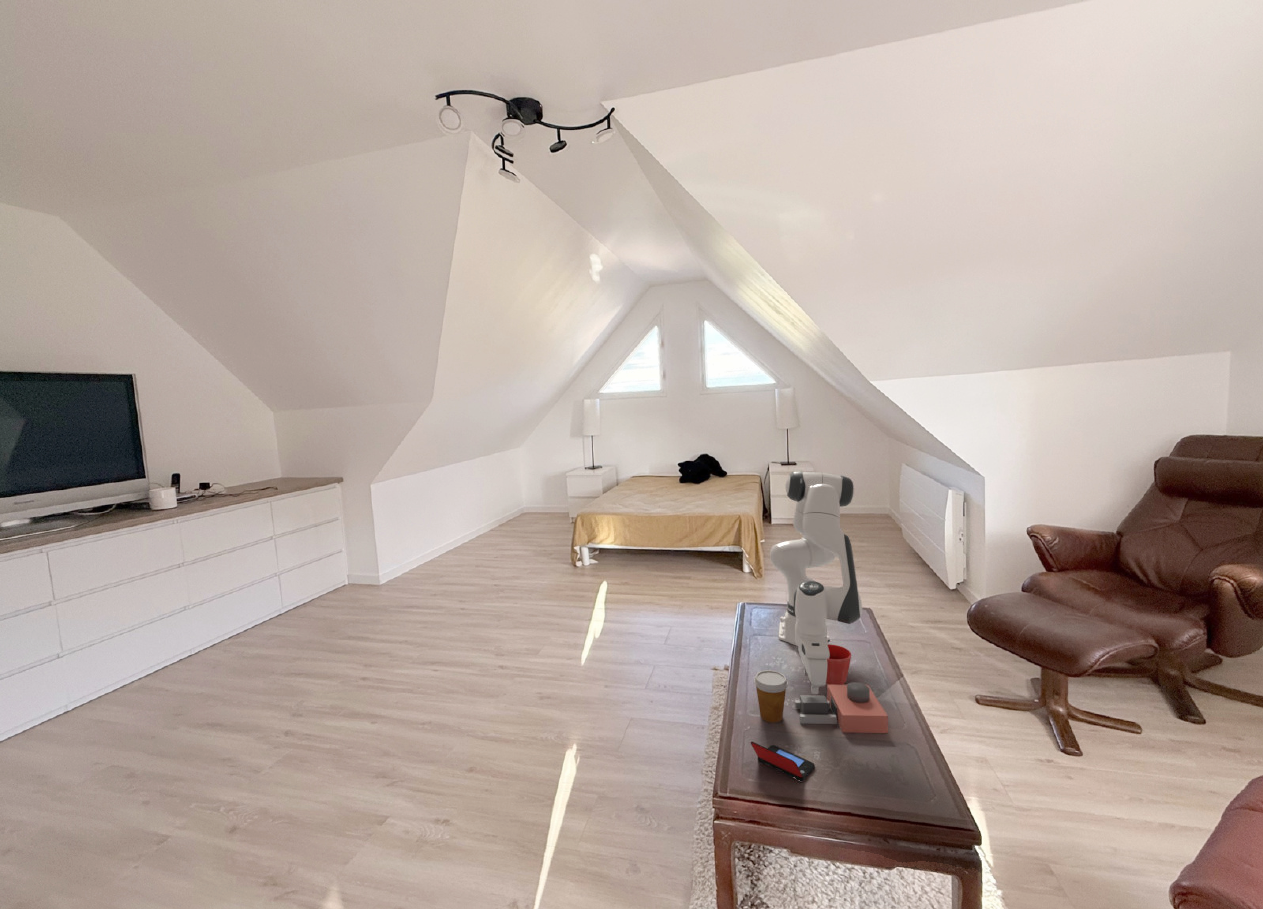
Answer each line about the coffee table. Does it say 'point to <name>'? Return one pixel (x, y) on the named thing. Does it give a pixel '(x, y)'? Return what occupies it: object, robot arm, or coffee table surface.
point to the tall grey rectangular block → (813, 704)
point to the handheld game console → (784, 761)
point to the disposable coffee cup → (771, 694)
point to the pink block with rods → (851, 710)
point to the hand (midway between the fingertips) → (810, 683)
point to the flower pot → (837, 665)
